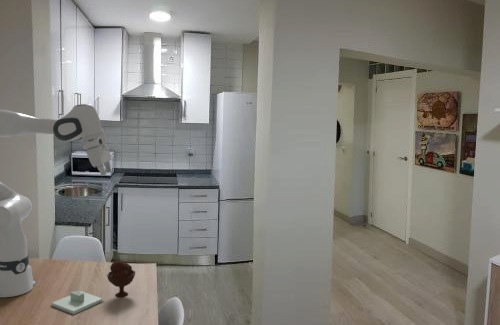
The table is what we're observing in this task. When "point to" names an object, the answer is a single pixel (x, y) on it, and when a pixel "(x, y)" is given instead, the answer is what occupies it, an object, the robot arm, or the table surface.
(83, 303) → the lid
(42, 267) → the table surface
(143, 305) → the table surface
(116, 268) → the ice cream bowl
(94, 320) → the table surface
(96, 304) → the mat
